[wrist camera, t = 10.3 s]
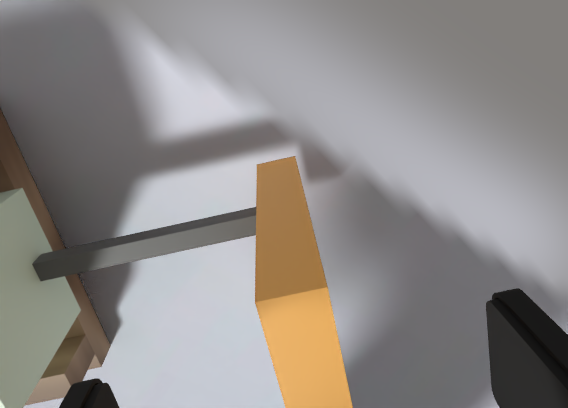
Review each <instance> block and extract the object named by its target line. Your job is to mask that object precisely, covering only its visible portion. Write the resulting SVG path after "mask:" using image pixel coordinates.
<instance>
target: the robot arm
mask: <svg viewBox="0 0 568 408" xmlns="http://www.w3.org/2000/svg"><path fill="white" fill-rule="evenodd" d="M486 312H487V327H488V341H489V356H490V371H491V385H492V391H493V395H494V398H495V400H496V402H497V404H498V405H499V407H500V408H568V335H567V334H566V333H565V332H564V331H563V330H562V329H561V328H560V327H559V326H558V325H557V324H556V323H555V322H554V321H553V320H552V319H551V318H550V317H549V316H548V315H547V314H546V313H545V312H544V311H543V310H542V309H541V308H539V307H538V306H537V305H536V304H535V303H534V302H533V301H532V300H531V299H530V298H529V297H528V296H527V295H526V294H525V293H524V292H523V291H522V290H520V289H517V288H516V289H512V290H507V291H502V292H498V293H494V294H493V296H492V300H490V301H487V303H486ZM59 408H119V406H118V404H117V401H116V399H115V397H114V395H113V392H112V390H111V388H110V386H109V384H107V383H102V381H101V380H100V379H91V380H87V381H82V382H77V383H74V384H72V386H71V387H70V388H69V390H68V392H67V394H66V396H65V398H64V400H63V401H62V403H61V405H60V407H59Z"/></svg>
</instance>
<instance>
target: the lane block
mask: <svg viewBox="0 0 568 408" xmlns="http://www.w3.org/2000/svg"><path fill="white" fill-rule="evenodd" d="M253 235H256V272H255V304H256V307H257V311H258V314H259V318H260V321H261V324H262V328H263V331H264V335H265V338H266V342H267V345H268V349H269V352H270V355H271V359H272V362H273V366H274V369H275V373H276V376H277V380H278V383H279V387H280V390H281V393H282V397H283V400H284V404H285V407H286V408H353V406H352V402H351V397H350V392H349V387H348V382H347V378H346V373H345V368H344V363H343V359H342V354H341V349H340V344H339V339H338V335H337V330H336V325H335V320H334V316H333V311H332V306H331V301H330V296H329V292H328V287H327V283H326V279H325V275H324V271H323V267H322V263H321V259H320V255H319V251H318V247H317V243H316V239H315V235H314V231H313V226H312V222H311V218H310V214H309V210H308V206H307V202H306V198H305V194H304V190H303V186H302V182H301V178H300V174H299V170H298V166H297V162H296V158H295V156H293V157H289V158H284V159H280V160H275V161H271V162H266V163H262V164H257V198H256V207H254V208H249V209H245V210H240V211H236V212H231V213H226V214H222V215H217V216H213V217H208V218H204V219H199V220H194V221H190V222H185V223H181V224H176V225H171V226H167V227H162V228H158V229H153V230H149V231H144V232H139V233H135V234H130V235H126V236H121V237H116V238H112V239H107V240H103V241H98V242H94V243H89V244H84V245H80V246H75V247H71V248H66V249H62V250H57V251H52V249H51V246H50V244H49V242H48V240H47V238H46V236H45V234H44V232H43V230H42V228H41V226H40V224H39V221H38V219H37V217H36V215H35V213H34V211H33V209H32V207H31V205H30V203H29V201H28V198H27V196H26V194H25V192H24V190H23V188H19V189H14V190H10V191H5V192H1V193H0V408H23V407H24V405H25V403H26V402H27V400H28V398H29V397H30V395H31V393H32V392H33V390H34V388H35V387H36V385H37V383H38V382H39V380H40V378H41V377H42V375H43V373H44V372H45V370H46V368H47V366H48V365H49V363H50V361H51V360H52V358H53V356H54V355H55V353H56V351H57V350H58V348H59V346H60V345H61V343H62V341H63V340H64V338H65V336H66V335H67V333H68V331H69V330H70V328H71V326H72V324H73V323H74V321H75V319H76V318H77V316H78V314H79V313H80V311H81V309H80V307H79V305H78V303H77V301H76V299H75V297H74V294H73V292H72V290H71V288H70V286H69V284H68V282H67V280H66V278H65V276H68V275H73V274H78V273H82V272H87V271H91V270H96V269H101V268H105V267H110V266H115V265H119V264H124V263H128V262H133V261H138V260H142V259H147V258H152V257H156V256H161V255H165V254H170V253H175V252H179V251H184V250H189V249H193V248H198V247H203V246H207V245H212V244H216V243H221V242H226V241H230V240H235V239H240V238H244V237H249V236H253Z"/></svg>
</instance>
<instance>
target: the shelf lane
mask: <svg viewBox="0 0 568 408" xmlns="http://www.w3.org/2000/svg"><path fill="white" fill-rule="evenodd" d="M19 188H23V190H24V192H25V194H26V196H27V198H28V201H29V203H30V205H31V207H32V209H33V211H34V213H35V215H36V217H37V219H38V221H39V224H40V226H41V228H42V230H43V232H44V234H45V236H46V238H47V240H48V242H49V244H50V246H51V249H52V251H57V250H62V249H65V247H64V244H63V242H62V240H61V238H60V236H59V234H58V231H57V229H56V227H55V225H54V223H53V221H52V219H51V216H50V214H49V212H48V210H47V208H46V206H45V204H44V201H43V199H42V197H41V195H40V193H39V191H38V188H37V186H36V184H35V182H34V180H33V178H32V176H31V173H30V171H29V169H28V167H27V165H26V163H25V161H24V158H23V156H22V154H21V152H20V150H19V148H18V145H17V143H16V141H15V139H14V137H13V135H12V133H11V130H10V128H9V126H8V124H7V122H6V120H5V118H4V115H3V113H2V111H1V109H0V193H1V192H5V191H10V190H14V189H19ZM65 278H66V280H67V282H68V284H69V286H70V288H71V290H72V292H73V294H74V297H75V299H76V301H77V303H78V305H79V307H80V309H81V311H80V313H79V314H78V316H77V318H76V319H75V321H74V323H73V324H72V326H71V328H70V330H69V331H68V333H67V335H66V336H65V338H64V340H63V341H62V343H61V345H60V346H59V348H58V350H57V351H56V353H55V355H54V356H53V358H52V360H51V361H50V363H49V365H48V366H47V368H46V370H45V372H44V373H43V375H42V377H41V378H40V380H39V382H38V383H37V385H36V387H35V388H34V390H33V392H32V393H31V395H30V397H29V398H28V400H27V402H26V403H25V405H29V404H34V403H39V402H44V401H49V400H54V399H59V398H63V397H65V396H66V394H67V392H68V390H69V388H70V387H71V386H72V384H74V383H77V382H82V381H83V378H84V376H85V374H86V372H87V370H89V369H93V368H98V367H101V366H102V364H103V362H104V360H105V357H106V355H107V353H108V351H109V348H110V346H111V345H110V343H109V341H108V339H107V337H106V335H105V333H104V330H103V328H102V326H101V324H100V322H99V320H98V317H97V315H96V313H95V311H94V309H93V307H92V305H91V302H90V300H89V298H88V296H87V294H86V292H85V290H84V287H83V285H82V283H81V281H80V279H79V277H78V274H73V275H68V276H65ZM25 405H24V406H25Z"/></svg>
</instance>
